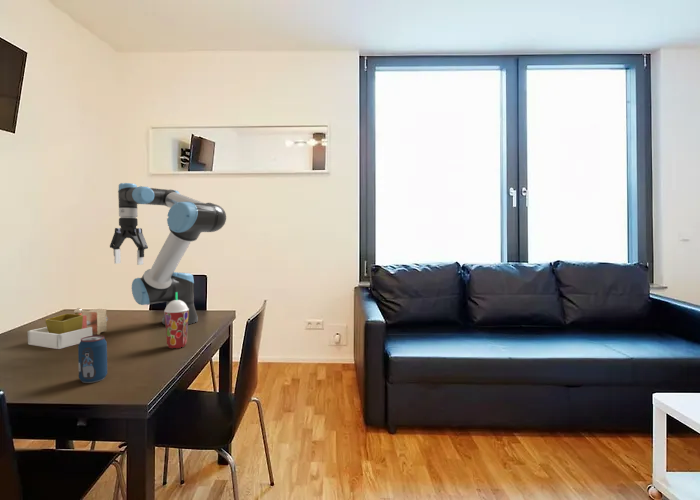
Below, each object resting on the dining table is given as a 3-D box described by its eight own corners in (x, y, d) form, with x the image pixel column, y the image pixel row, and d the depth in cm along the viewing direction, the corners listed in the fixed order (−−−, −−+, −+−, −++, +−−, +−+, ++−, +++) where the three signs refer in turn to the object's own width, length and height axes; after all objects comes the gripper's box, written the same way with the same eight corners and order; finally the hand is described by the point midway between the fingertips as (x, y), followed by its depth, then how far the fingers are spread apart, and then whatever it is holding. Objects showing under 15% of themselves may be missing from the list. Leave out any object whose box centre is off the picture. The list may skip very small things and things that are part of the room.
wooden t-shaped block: (114, 330, 172) (113, 303, 171) (83, 338, 159) (83, 309, 158) (98, 329, 175) (97, 302, 174) (67, 336, 162) (66, 307, 161)
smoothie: (194, 344, 154) (193, 291, 153) (177, 350, 146) (177, 294, 145) (176, 342, 157) (175, 290, 156) (159, 348, 149) (158, 293, 148)
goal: (92, 340, 159) (92, 327, 158) (58, 349, 146) (58, 335, 146) (62, 336, 164) (62, 323, 164) (27, 344, 152) (27, 330, 151)
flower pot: (63, 345, 152) (61, 321, 151) (46, 342, 154) (44, 319, 153) (85, 337, 160) (83, 315, 159) (68, 335, 163) (66, 313, 162)
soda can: (104, 373, 123) (103, 333, 122) (110, 379, 118) (109, 338, 117) (76, 378, 118) (75, 337, 117) (81, 385, 113) (80, 342, 112)
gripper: (100, 217, 189) (101, 263, 190) (142, 217, 180) (143, 265, 181) (114, 217, 196) (115, 262, 197) (156, 217, 187) (156, 264, 188)
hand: (128, 264), depth 189 cm, fingers open, 13 cm apart
